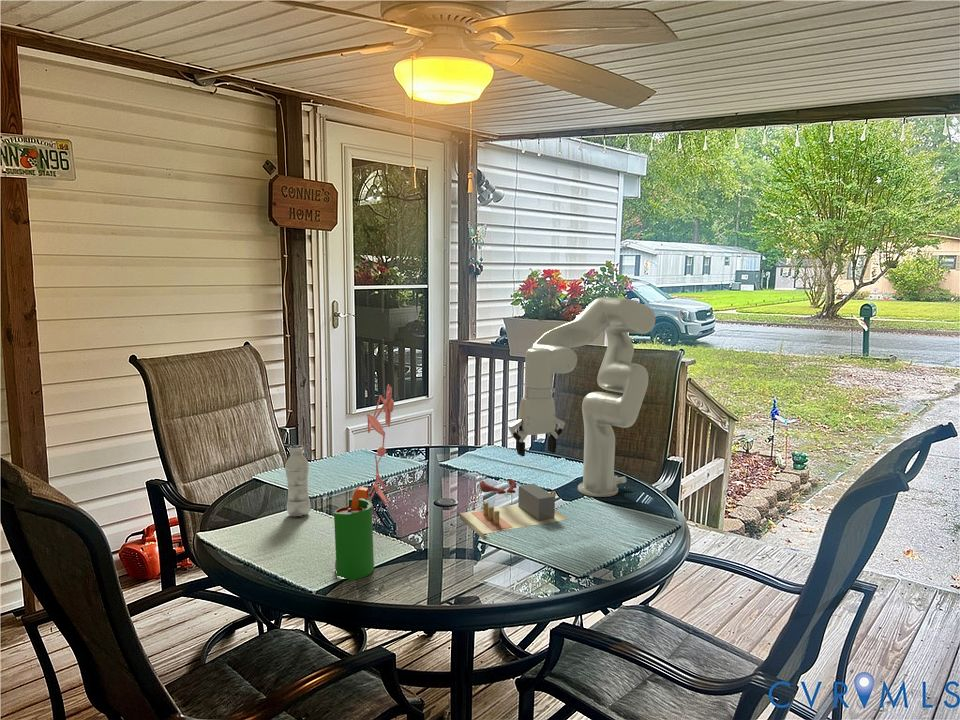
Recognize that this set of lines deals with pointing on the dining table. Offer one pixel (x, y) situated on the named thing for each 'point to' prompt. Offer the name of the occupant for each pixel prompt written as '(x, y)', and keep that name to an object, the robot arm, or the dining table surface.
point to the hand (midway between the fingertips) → (536, 453)
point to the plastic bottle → (297, 482)
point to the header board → (502, 519)
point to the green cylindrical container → (354, 537)
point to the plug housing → (536, 502)
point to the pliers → (490, 488)
